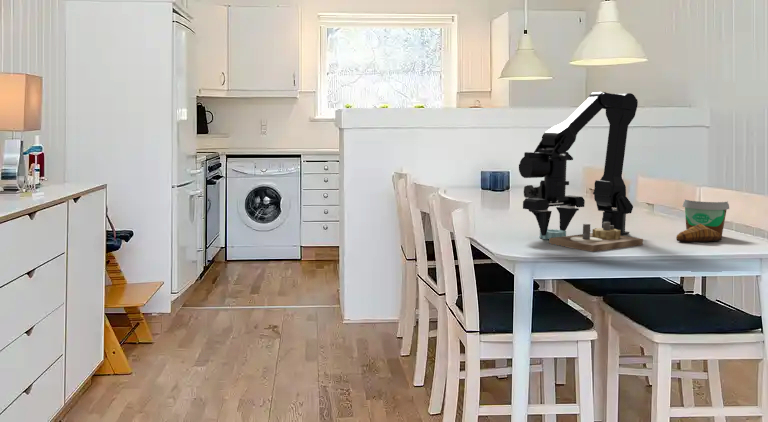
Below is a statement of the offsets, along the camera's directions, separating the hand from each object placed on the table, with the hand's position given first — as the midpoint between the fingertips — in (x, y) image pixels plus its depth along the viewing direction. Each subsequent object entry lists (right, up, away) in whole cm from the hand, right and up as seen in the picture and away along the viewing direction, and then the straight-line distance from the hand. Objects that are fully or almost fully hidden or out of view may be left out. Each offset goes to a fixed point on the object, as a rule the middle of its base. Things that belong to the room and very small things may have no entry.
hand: (552, 234), depth 210 cm
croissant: (+39, -2, -2) cm, 39 cm away
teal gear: (0, -1, 0) cm, 1 cm away
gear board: (+9, -2, -9) cm, 13 cm away
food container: (+44, -1, +7) cm, 45 cm away
